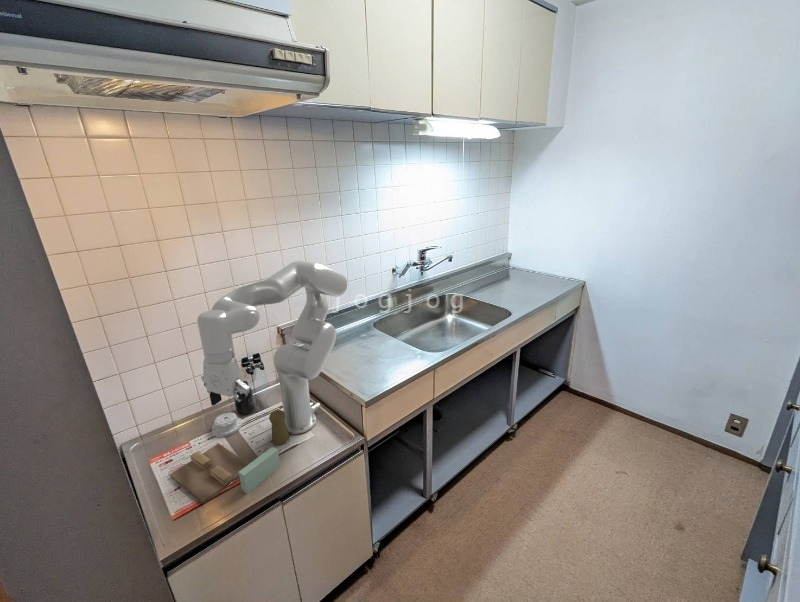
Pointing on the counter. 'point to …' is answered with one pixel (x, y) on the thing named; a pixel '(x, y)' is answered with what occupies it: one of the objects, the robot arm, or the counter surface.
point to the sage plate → (259, 470)
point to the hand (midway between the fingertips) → (229, 406)
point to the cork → (278, 427)
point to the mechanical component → (226, 424)
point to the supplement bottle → (247, 401)
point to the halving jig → (209, 472)
